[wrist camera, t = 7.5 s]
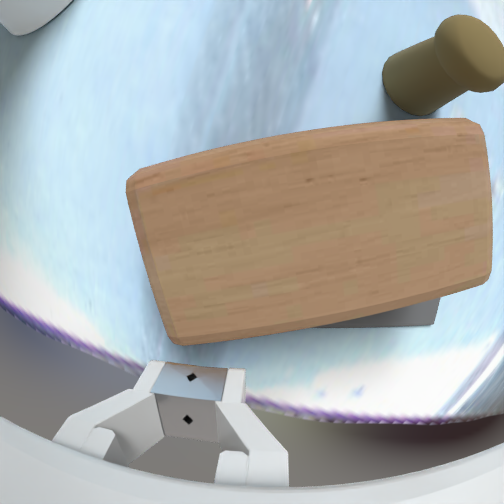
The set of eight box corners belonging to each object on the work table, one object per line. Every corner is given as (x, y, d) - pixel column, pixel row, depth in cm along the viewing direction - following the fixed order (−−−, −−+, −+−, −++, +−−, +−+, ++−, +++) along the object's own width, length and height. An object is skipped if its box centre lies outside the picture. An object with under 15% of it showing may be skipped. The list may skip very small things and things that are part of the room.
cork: (420, 45, 19) (487, -1, 9) (451, 104, 21) (533, 84, 10) (369, 62, 20) (426, 6, 10) (403, 125, 22) (482, 105, 11)
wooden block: (173, 171, 23) (414, 130, 21) (202, 288, 26) (427, 246, 24) (114, 175, 14) (487, 116, 12) (167, 354, 16) (495, 286, 14)
